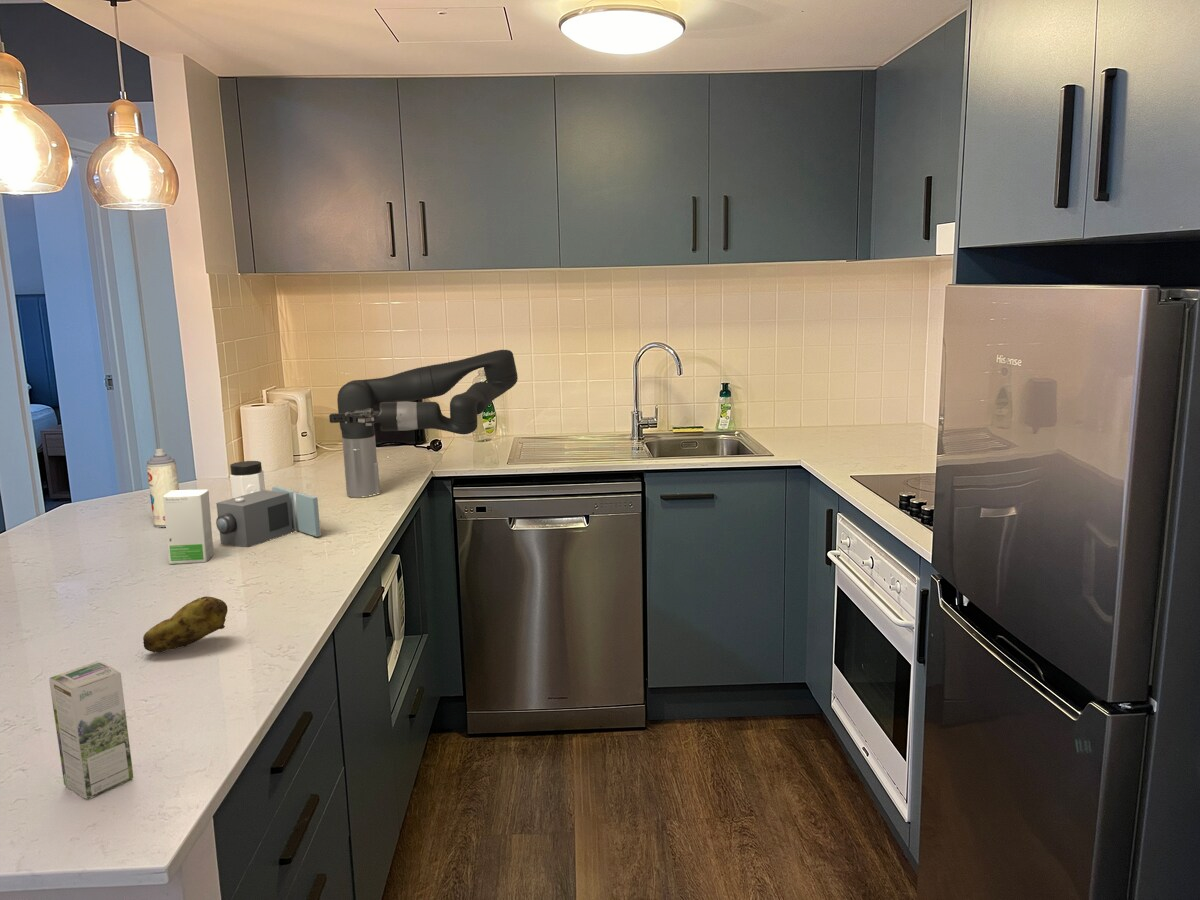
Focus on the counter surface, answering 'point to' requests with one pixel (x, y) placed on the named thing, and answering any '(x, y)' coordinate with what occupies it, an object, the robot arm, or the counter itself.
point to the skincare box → (188, 526)
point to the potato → (187, 625)
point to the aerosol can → (161, 483)
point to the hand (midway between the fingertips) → (329, 418)
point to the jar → (246, 478)
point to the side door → (303, 511)
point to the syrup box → (91, 729)
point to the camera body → (254, 518)
